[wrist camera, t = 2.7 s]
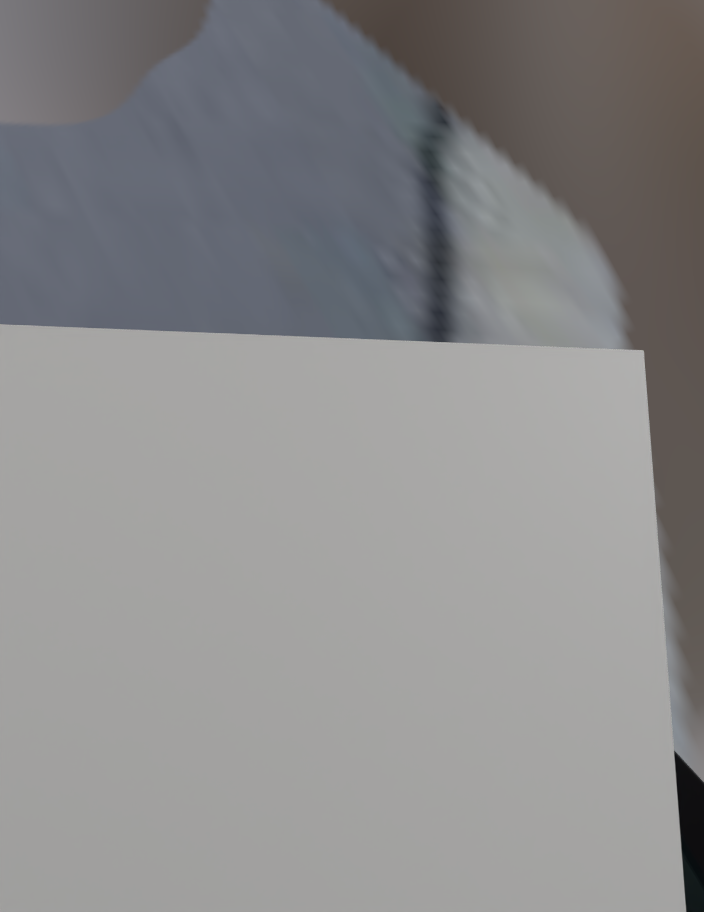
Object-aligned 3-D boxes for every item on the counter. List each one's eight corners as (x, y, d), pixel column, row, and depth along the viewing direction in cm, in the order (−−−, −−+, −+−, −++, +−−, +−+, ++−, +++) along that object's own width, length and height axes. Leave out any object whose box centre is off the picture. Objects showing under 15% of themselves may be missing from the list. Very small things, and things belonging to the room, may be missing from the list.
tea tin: (467, 880, 14) (749, 1737, 2) (197, 844, 15) (-565, 1376, 3) (475, 597, 16) (643, 350, 5) (239, 577, 17) (-121, 320, 5)
